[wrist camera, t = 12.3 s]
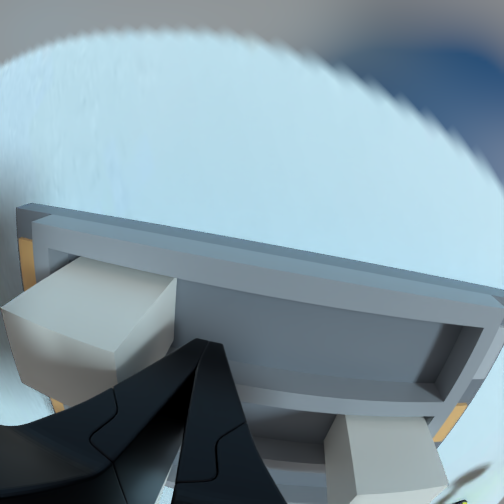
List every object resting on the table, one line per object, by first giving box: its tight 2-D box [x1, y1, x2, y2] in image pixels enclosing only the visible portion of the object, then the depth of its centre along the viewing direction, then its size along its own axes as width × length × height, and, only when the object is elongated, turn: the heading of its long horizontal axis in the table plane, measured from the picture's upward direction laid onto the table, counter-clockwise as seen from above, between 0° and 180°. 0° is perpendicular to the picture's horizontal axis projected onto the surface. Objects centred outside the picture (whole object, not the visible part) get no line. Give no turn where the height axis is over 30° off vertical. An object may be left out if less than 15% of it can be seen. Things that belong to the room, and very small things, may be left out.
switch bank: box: [16, 203, 504, 504], centre depth 12 cm, size 13×21×2 cm, turn 81°
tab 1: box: [1, 256, 177, 407], centre depth 8 cm, size 3×4×4 cm
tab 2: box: [324, 414, 449, 504], centre depth 9 cm, size 3×4×4 cm
